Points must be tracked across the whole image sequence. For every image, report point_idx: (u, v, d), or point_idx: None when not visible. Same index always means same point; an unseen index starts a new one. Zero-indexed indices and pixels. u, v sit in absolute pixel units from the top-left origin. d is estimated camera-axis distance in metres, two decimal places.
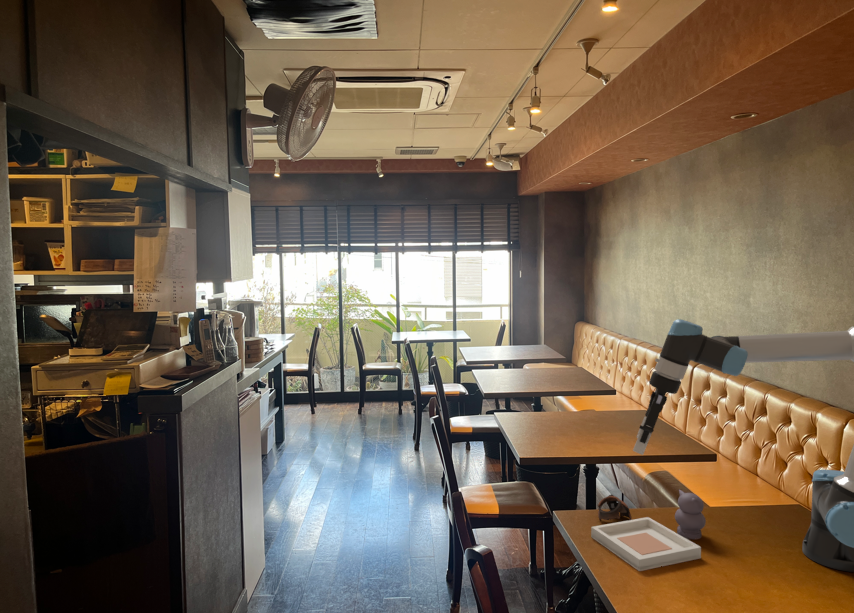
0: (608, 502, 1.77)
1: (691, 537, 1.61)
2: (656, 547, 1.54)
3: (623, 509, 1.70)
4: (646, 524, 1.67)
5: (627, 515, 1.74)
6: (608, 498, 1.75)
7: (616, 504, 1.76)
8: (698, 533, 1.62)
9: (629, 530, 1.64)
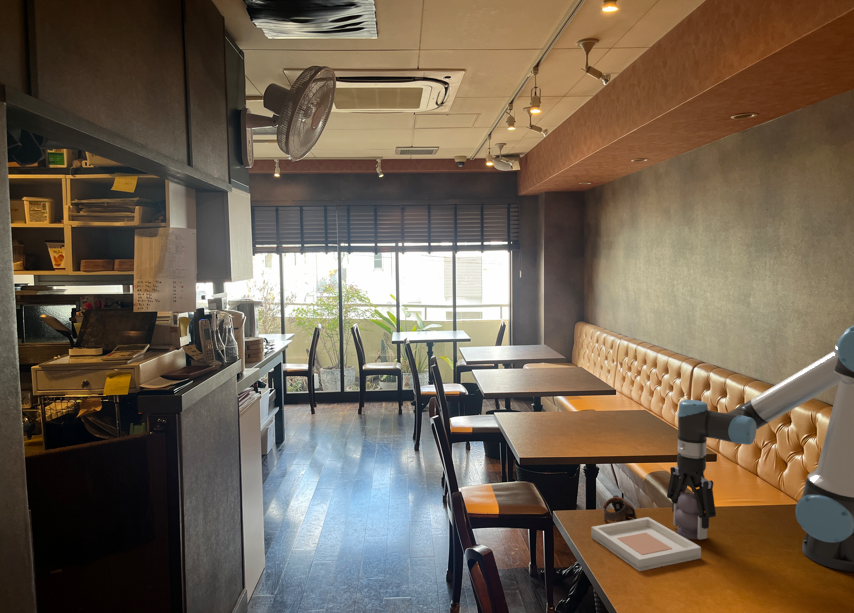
0: (613, 503, 1.76)
1: (691, 537, 1.61)
2: (656, 547, 1.54)
3: (629, 510, 1.69)
4: (646, 524, 1.67)
5: (632, 516, 1.74)
6: (613, 499, 1.74)
7: (621, 505, 1.76)
8: None
9: (629, 530, 1.64)
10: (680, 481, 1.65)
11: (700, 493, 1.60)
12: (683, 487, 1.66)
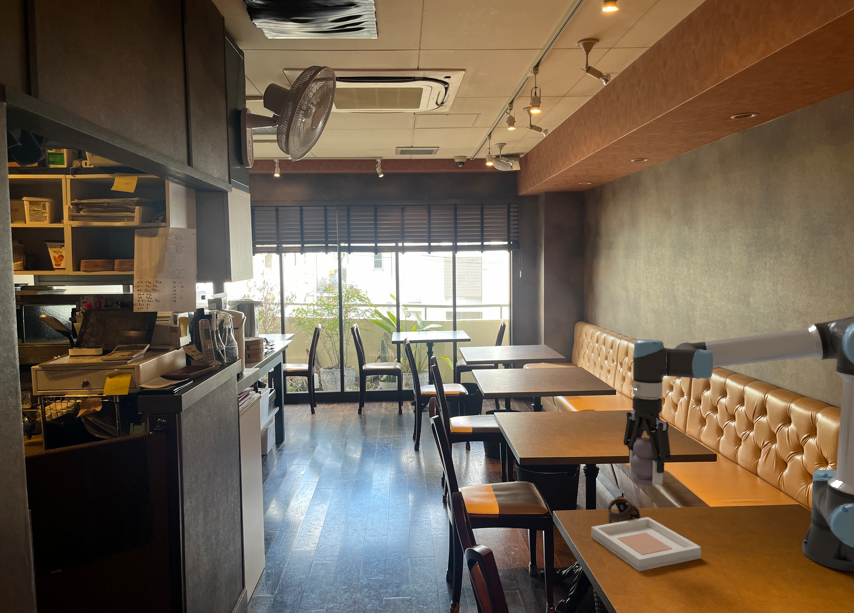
0: (617, 504, 1.75)
1: (646, 483, 1.52)
2: (656, 547, 1.54)
3: (633, 511, 1.69)
4: (646, 524, 1.67)
5: (637, 517, 1.73)
6: (618, 500, 1.74)
7: (625, 506, 1.75)
8: None
9: (629, 530, 1.64)
10: (636, 425, 1.56)
11: (655, 436, 1.51)
12: (639, 432, 1.57)
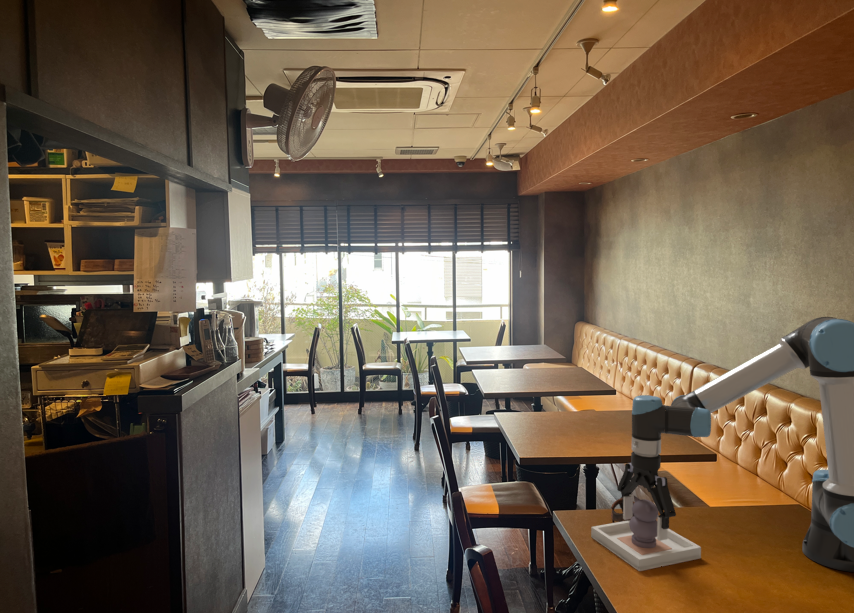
0: (621, 504, 1.75)
1: (645, 546, 1.53)
2: (656, 547, 1.54)
3: None
4: None
5: None
6: (621, 500, 1.73)
7: None
8: (652, 542, 1.54)
9: (629, 530, 1.64)
10: (633, 479, 1.57)
11: (656, 492, 1.51)
12: (635, 484, 1.59)
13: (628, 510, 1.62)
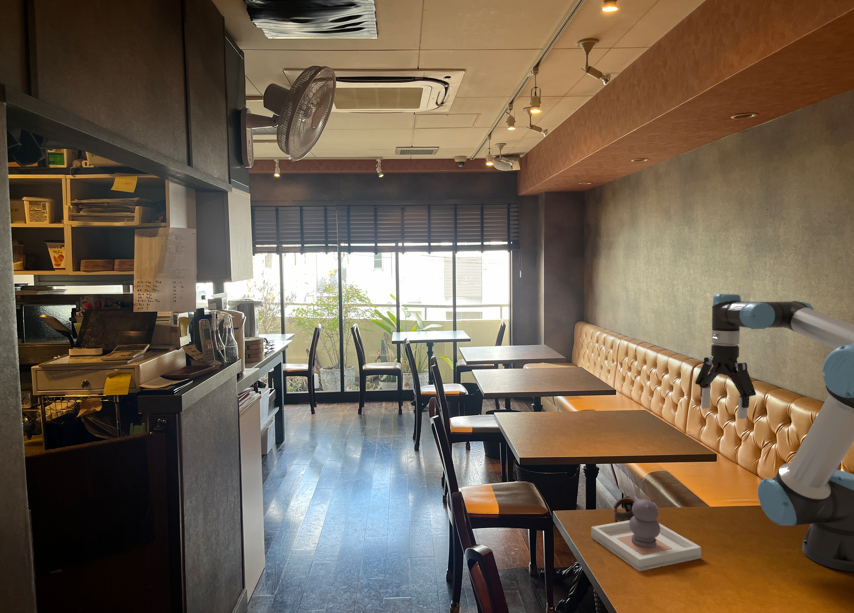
0: (624, 503, 1.76)
1: (645, 546, 1.53)
2: (656, 547, 1.54)
3: None
4: None
5: None
6: (624, 499, 1.74)
7: None
8: (652, 542, 1.54)
9: (629, 530, 1.64)
10: (713, 369, 1.75)
11: (736, 377, 1.69)
12: (714, 375, 1.77)
13: (706, 400, 1.80)
